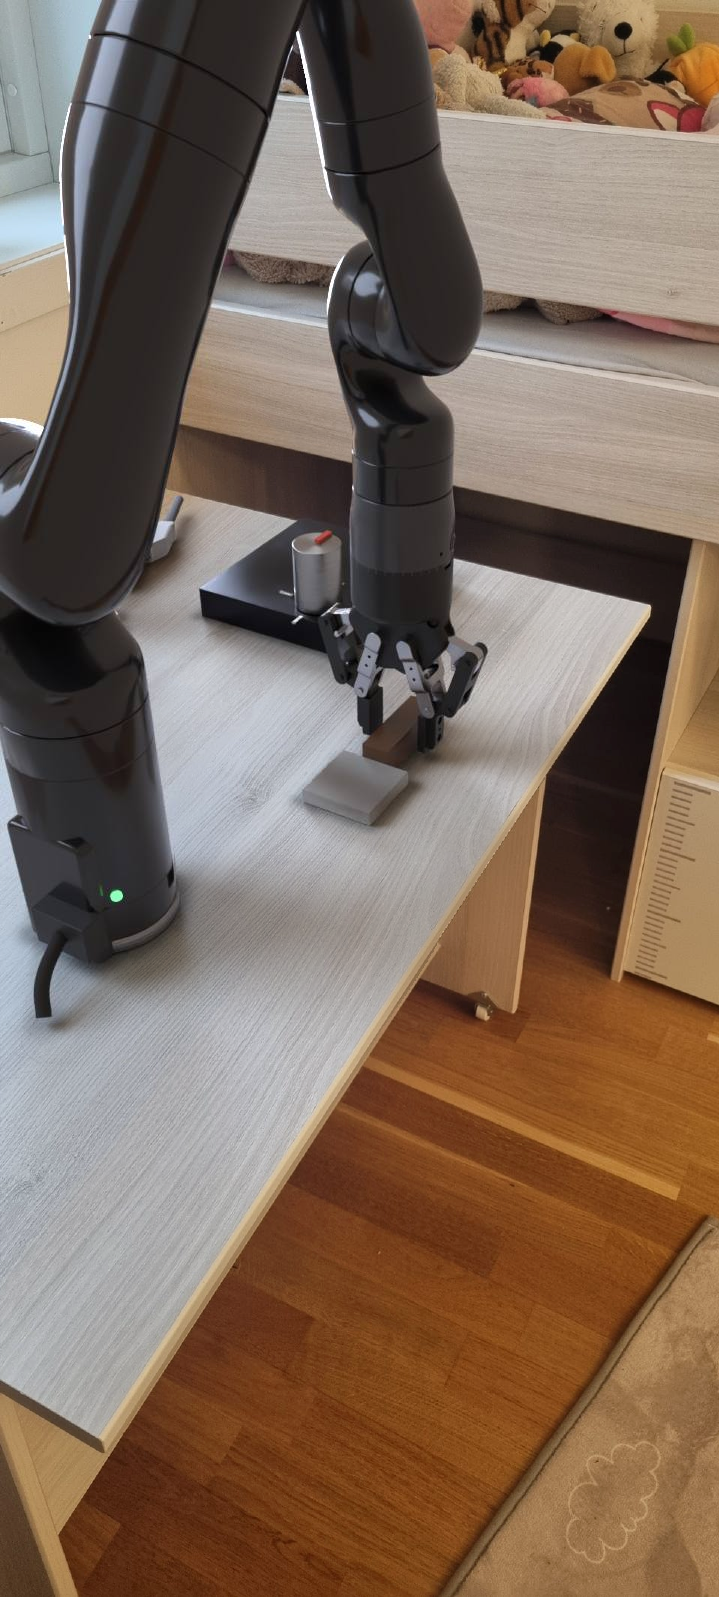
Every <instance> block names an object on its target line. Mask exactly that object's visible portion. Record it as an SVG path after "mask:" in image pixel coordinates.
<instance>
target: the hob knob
mask: <svg viewBox="0 0 719 1597" xmlns="http://www.w3.org/2000/svg"><path fill="white" fill-rule="evenodd" d="M292 553H293V573H294V592H295V606H296V607H297V609H299V610H300V611H302V612H304V613H307V614H313V615H322V614H324V613H325V612H326V611H327V610H329V609H330V608H331V607H332V606H334V605H335V604H336V603H342V604H343V586H342V544H341V540H340V539H339V538H338V537H336V536H334V535H332V532H331V531H325V532H324V533H309V534H304V535H301V536H299V537H297V538H296V539H295V540H294V541H293V543H292Z"/></svg>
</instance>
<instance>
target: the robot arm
mask: <svg viewBox="0 0 719 1597" xmlns="http://www.w3.org/2000/svg"><path fill="white" fill-rule="evenodd" d="M416 6H417V5H416V4H415V1H414V0H101V1H100V3H99V6H98V9H97V12H96V15H95V17H94V20H93V23H92V26H91V29H90V31H89V32H90V33H89V35H88V36H89V38H88V39H87V43H86V46H85V50H84V54H83V57H82V61H81V64H80V68H79V71H78V75H77V78H76V83H75V85H74V90H73V94H72V97H71V100H70V105H69V107H68V112H67V116H66V118H65V119H66V120H65V125H64V129H63V134H62V142H61V148H60V161H59V162H60V163H59V164H60V165H59V182H60V184H59V186H60V187H59V189H60V202H61V218H62V227H63V240H64V250H65V260H66V261H65V262H66V272H67V283H68V284H67V286H68V297H69V298H68V301H69V303H68V325H67V333H66V339H65V340H66V341H65V348H64V351H63V355H62V356H63V357H62V361H61V366H60V370H59V373H58V377H57V379H56V380H57V381H56V384H55V387H54V390H53V394H52V397H51V401H50V404H49V408H48V411H47V415H46V419H45V421H44V424H43V426H42V425H39V424H37V423H34V422H31V421H28V420H24V419H18V418H0V746H1V750H2V755H3V759H4V763H5V767H6V772H7V776H8V780H9V784H10V785H9V786H10V789H11V792H12V797H13V802H14V805H15V809H16V814H15V815H14V816H13V817H11V818H10V819H9V820H8V821H7V823H6V829H7V832H8V837H9V840H10V846H11V849H12V853H13V858H14V861H15V865H16V868H17V872H18V876H19V882H20V885H21V888H22V893H23V896H24V900H25V904H26V905H25V906H26V908H27V913H28V917H29V921H30V925H31V928H32V932H34V933H36V937H37V940H38V941H39V942H41V943H44V944H46V945H47V946H46V949H45V950H44V953H43V955H42V957H41V959H40V961H39V963H38V967H37V970H36V974H35V978H34V982H33V1006H34V1014H35V1019H44V1018H52V1017H53V1013H52V1003H51V995H50V994H51V984H52V983H51V982H52V978H53V975H54V971H55V968H56V965H57V963H58V962H59V958H60V957H61V955H62V952H63V953H65V954H67V955H69V956H71V957H72V958H75V959H77V960H80V961H82V962H83V963H86V964H88V965H90V964H91V963H92V962H94V961H96V962H98V963H103V962H105V961H107V959H108V958H110V957H111V956H112V955H113V954H116V953H120V952H125V951H128V950H131V949H134V948H136V947H139V946H141V945H144V944H146V943H147V942H150V941H151V940H152V939H154V938H156V937H157V936H158V935H160V934H161V933H162V932H164V930H166V928H167V927H168V926H169V925H170V924H171V923H172V921H173V920H174V918H175V917H176V914H177V912H178V910H179V907H180V900H181V898H180V897H181V896H180V889H179V885H178V878H177V867H176V863H177V862H176V856H175V854H173V850H172V844H171V838H170V832H169V824H168V818H167V817H168V816H167V810H166V804H165V803H166V802H165V796H164V790H163V789H164V788H163V782H162V775H161V770H160V769H161V768H160V762H159V755H158V749H157V742H156V741H157V740H156V735H155V729H154V728H155V726H154V719H153V712H152V706H151V699H150V698H151V697H150V691H149V684H148V676H147V670H146V663H145V659H144V654H143V652H142V649H141V646H140V644H139V642H138V641H137V639H136V638H135V637H134V635H133V634H132V632H131V631H130V630H129V629H128V627H127V626H126V625H125V623H124V622H123V621H122V619H121V618H120V617H119V614H118V615H117V614H116V612H117V611H116V609H117V608H119V607H120V606H121V604H122V603H123V602H124V601H125V599H126V598H128V596H129V595H130V593H131V592H132V591H133V589H134V587H135V586H136V584H137V582H138V580H139V579H140V576H141V575H142V573H143V571H144V568H145V566H146V564H147V562H146V561H147V559H148V556H149V553H150V550H151V547H152V544H153V540H154V537H155V533H156V529H157V525H158V521H160V516H161V512H162V508H163V502H164V498H165V494H166V488H167V484H168V479H169V474H170V470H171V465H172V461H173V456H174V452H175V445H176V441H177V436H178V432H179V429H180V428H179V427H180V422H181V419H182V414H183V408H184V406H185V401H186V396H187V393H188V388H189V383H190V379H191V376H192V372H193V368H194V365H195V362H196V358H197V355H198V351H199V348H200V344H201V341H202V338H203V335H204V331H205V328H206V325H207V321H208V317H209V314H210V311H211V308H212V304H213V300H214V297H215V293H216V290H217V286H218V283H219V280H220V276H221V273H222V270H223V266H224V262H225V260H226V256H227V253H228V251H229V248H230V243H231V240H232V238H233V235H234V231H235V228H236V225H237V223H238V221H239V217H240V216H241V212H242V209H243V207H244V204H245V200H246V199H247V196H248V193H249V190H250V187H251V185H252V181H253V179H254V175H255V173H256V168H257V166H258V163H259V159H260V157H261V153H262V150H263V147H264V144H265V140H266V138H267V135H268V132H269V128H270V123H271V121H272V118H273V114H274V111H275V107H276V104H277V100H278V96H279V92H280V89H281V85H282V82H283V79H284V75H285V72H286V68H287V65H288V62H289V58H290V55H291V52H292V50H293V47H294V43H295V41H296V37H297V42H298V46H299V51H300V56H301V59H302V65H303V69H304V70H303V71H304V74H305V78H306V85H307V91H308V95H309V102H310V107H311V108H310V109H311V113H312V119H313V124H314V129H315V134H316V140H317V145H318V150H319V156H320V161H321V166H322V172H323V178H324V182H325V186H326V190H327V193H328V196H329V199H330V201H331V203H332V205H333V206H334V208H335V209H336V211H338V212H339V214H340V215H341V216H343V217H344V218H346V219H347V220H348V221H349V222H351V224H353V225H355V227H357V228H358V230H360V232H361V233H362V234H363V235H364V236H365V238H366V240H365V239H364V240H362V241H360V242H358V243H356V244H355V245H353V246H352V247H351V248H349V249H348V250H347V252H345V254H344V255H343V256H342V258H341V259H340V260H339V262H338V264H337V266H336V267H335V270H334V272H333V275H332V277H331V281H330V285H329V289H328V295H327V301H326V320H327V321H326V324H327V332H328V338H329V346H330V350H331V353H332V358H333V362H334V366H335V370H336V371H335V372H336V374H337V379H338V382H339V388H340V391H341V395H342V396H341V397H342V398H343V403H344V406H345V409H346V412H347V415H348V418H349V422H350V426H351V479H352V480H351V482H352V483H351V484H352V488H351V489H352V491H351V500H350V507H349V529H350V571H351V601H352V604H353V606H352V608H346V607H345V606H344V605H343V604H342V603H336V604H335V605H334V606H332V607H331V608H330V609H329V610H327V611H326V612H325V613H324V614H322V615H321V616H320V617H319V618H318V624H319V627H320V631H321V634H322V638H323V641H324V644H325V648H326V651H327V653H326V654H327V658H328V661H329V664H330V668H331V671H332V675H333V678H334V680H335V681H336V683H338V684H339V685H346V684H347V685H349V686H350V687H351V688H352V689H353V692H354V694H355V695H356V713H357V716H356V717H357V718H356V721H357V723H358V726H359V727H361V731H362V735H365V736H368V737H369V736H370V735H371V734H372V733H373V732H374V731H375V730H376V729H377V728H378V727H379V726H380V725H381V724H382V723H384V687H383V686H380V685H379V684H380V683H381V682H382V681H383V677H384V674H385V671H386V670H387V669H388V670H395V671H397V672H399V673H401V674H403V675H405V677H406V680H407V683H408V687H409V691H410V692H412V693H414V694H415V697H416V698H417V701H418V705H419V708H420V712H421V713H420V714H419V715H418V731H417V747H416V752H417V753H420V754H423V755H428V754H430V752H431V751H433V750H434V749H436V748H437V746H438V745H439V744H440V743H441V742H442V740H443V738H444V732H445V731H444V730H445V727H444V726H445V718H448V719H452V718H454V717H455V716H456V715H457V713H458V712H459V711H460V709H461V708H462V707H463V706H465V705H466V704H467V703H468V702H469V700H470V698H471V695H472V693H473V690H474V688H475V685H476V683H477V680H478V678H479V675H480V673H481V670H482V668H483V665H484V663H485V661H486V659H487V658H486V657H487V655H488V653H489V649H488V647H487V644H485V643H483V642H481V641H477V642H475V643H474V644H470V643H468V642H467V641H465V640H464V639H462V638H460V637H458V636H456V629H455V628H454V625H453V623H452V620H451V609H452V604H453V587H454V586H453V585H454V565H455V564H454V561H455V560H454V558H455V548H456V542H457V537H456V509H455V500H454V467H455V466H454V465H455V422H454V416H453V414H452V411H451V409H450V408H449V407H448V405H447V404H446V403H445V402H444V401H443V400H442V399H441V398H439V396H437V395H436V394H435V393H434V392H433V391H432V390H431V389H430V388H429V386H428V384H427V383H426V381H425V380H424V377H432V378H433V377H441V376H445V375H447V374H449V373H452V372H453V371H455V370H457V369H458V368H460V366H461V365H463V364H464V362H466V360H468V358H469V357H470V356H471V355H472V354H471V353H472V352H473V350H474V348H475V346H476V344H477V342H478V340H479V337H480V334H481V331H482V330H481V329H482V326H483V321H484V320H483V319H484V311H485V310H484V308H485V297H484V296H485V295H484V284H483V279H482V275H481V270H480V266H479V262H478V259H477V256H476V254H475V250H474V247H473V244H472V241H471V239H470V235H469V232H468V230H467V226H466V224H465V221H464V218H463V216H462V212H461V208H460V206H459V203H458V201H457V198H456V195H455V193H454V191H453V188H452V186H451V183H450V181H449V178H448V175H447V173H446V170H445V167H444V163H443V148H442V141H441V132H440V125H439V116H438V108H437V99H436V91H435V90H436V89H435V82H434V73H433V67H432V66H433V65H432V60H431V55H430V49H429V46H428V41H427V37H426V34H425V30H424V27H423V23H422V20H421V18H420V14H419V12H418V9H417V7H416ZM353 629H354V631H355V632H356V634H357V636H358V637H359V639H360V641H361V642H362V644H361V645H362V646H363V650H362V654H361V655H360V651H359V647H357V644H356V640H355V637H354V633H353ZM445 651H446V652H447V653H448V654H449V657H450V667H449V668H450V670H451V671H452V672H454V673H453V675H452V677H451V680H450V683H449V686H448V689H447V687H446V683H445V680H444V675H445V670H446V669H445V666H444V662H443V659H442V658H443V657H442V654H443V653H445Z"/></svg>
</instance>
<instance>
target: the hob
mask: <svg viewBox="0 0 719 1597" xmlns="http://www.w3.org/2000/svg"><path fill="white" fill-rule="evenodd" d="M325 531H331V532H332V535H334V536H336V537H338V538H339V539H340V540H341V544H342V586H343V605H344V606H345V607H346V608H352V606H353V604H352V601H351V571H350V528H348V527H343V526H340V525H335V524H332V523H328V522H324V521H319V520H316V519H311V518H307V517H301V518H299V519H297V520H296V521H295V522H293V523H292V524H290V525H289V526H287V527H286V528H285V529H283V530H282V531H280V532H278V533H277V534H276V535H274V536H273V537H271V538H269V539H268V540H267V541H266V542H264V543H263V544H261V545H260V546H258V547H257V548H255V549H253V551H251V552H249V553H248V554H247V555H244V557H243V558H242V557H241V559H239V560H238V561H236V562H235V563H234V564H232V565H231V566H229V567H228V568H226V569H225V570H224V571H222V572H220V573H219V574H217V576H216V575H215V577H213V578H212V579H211V580H209V581H208V582H206V583H205V584H203V585H202V586H200V587H199V588H198V591H199V601H200V612H201V617H204V618H207V619H210V620H213V621H217V622H220V623H223V624H227V625H230V626H233V627H237V628H240V629H244V630H247V631H250V632H253V633H257V634H260V635H263V636H267V637H270V638H273V639H277V640H279V641H283V642H286V643H290V644H293V645H297V646H300V647H304V648H307V649H310V650H314V651H317V652H321V653H324V654H327V651H326V648H325V644H324V641H323V638H322V634H321V631H320V627H319V624H318V618H319V617H320V616H321V615H313V614H307V613H304V612H302V611H300V610H299V609H297V607H296V606H295V592H294V573H293V553H292V543H293V541H294V540H295V539H296V538H297V537H299V536H301V535H304V534H309V533H324V532H325ZM353 633H354V637H355V640H356V644H357V647H358V648H359V647H360V646H361V645H363V644H362V642H361V641H360V639H359V637H358V636H357V634H356V632H355V631H354V629H353Z"/></svg>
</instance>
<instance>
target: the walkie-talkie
mask: <svg viewBox="0 0 719 1597" xmlns="http://www.w3.org/2000/svg"><path fill="white" fill-rule="evenodd" d="M184 501H185V499H184V497H183V496H181V495H176V496H174V499H173V501H172V503H171V506H170V507H169V509H168V512H167V513H166V516H165V518H164V519H163V520H159V521H158V525H157V529H156V533H155V537H154V540H153V544H152V547H151V550H150V553H149V556H148V559H147V561H146V563H153V562H155V561H157V560H160V559H161V558H164V557H166V556H167V555H168V554H169V552H170V549H171V547H172V545H173V543H174V542H175V541H176V539H177V528H176V522H175V521H176V520H177V517H178V515H179V513H180V510H181V508H182V505H183V504H184Z"/></svg>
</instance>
